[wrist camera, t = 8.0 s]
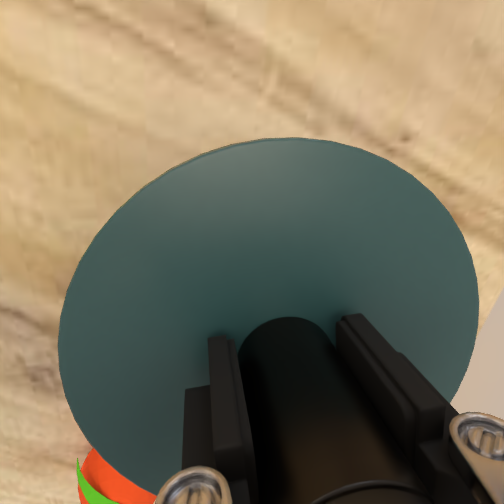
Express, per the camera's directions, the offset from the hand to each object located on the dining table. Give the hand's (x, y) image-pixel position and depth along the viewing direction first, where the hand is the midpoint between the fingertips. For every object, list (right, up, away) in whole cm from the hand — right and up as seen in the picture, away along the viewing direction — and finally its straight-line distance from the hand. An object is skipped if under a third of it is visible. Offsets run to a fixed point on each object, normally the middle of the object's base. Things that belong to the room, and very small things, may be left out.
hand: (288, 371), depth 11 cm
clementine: (-13, -14, +24) cm, 31 cm away
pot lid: (0, 0, +1) cm, 1 cm away
